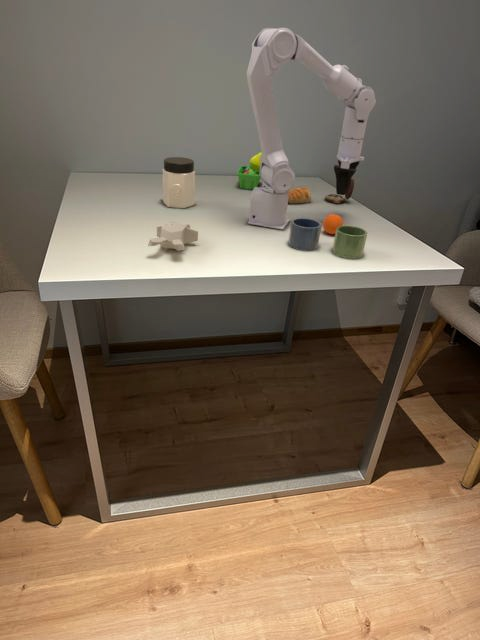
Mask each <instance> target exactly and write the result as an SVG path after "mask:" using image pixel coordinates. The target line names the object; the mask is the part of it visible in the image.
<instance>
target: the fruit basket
mask: <svg viewBox="0 0 480 640" xmlns="http://www.w3.org/2000/svg"><path fill="white" fill-rule="evenodd" d="M261 155H262V150H260V151H259V152H258V153H257V154H256V155H254V156H252V157H250V159H249V163H250V164H248V165H241V166H240V167H239V169H238V171H237V172H236V173H237V177H238V182H239V188H240V189H245V190H253V189H254V188H255V187H258V186H259V183H260V180H261V177H260V173H259V172H260V167H261V161H260V157H261Z"/></svg>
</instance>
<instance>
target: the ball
mask: <svg viewBox="0 0 480 640" xmlns="http://www.w3.org/2000/svg"><path fill="white" fill-rule="evenodd" d="M322 226H323V227H322V228H323V229H324V231H325V232H326V233H327V234H329V235H335V234H336V229H337V227H339V226H344V221H343V218H342V217H341V216H340V215H338V214H333V213H332V214H328V215H327V216H326V217H325V218H324V220H323V222H322Z"/></svg>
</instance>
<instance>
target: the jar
mask: <svg viewBox="0 0 480 640" xmlns="http://www.w3.org/2000/svg"><path fill="white" fill-rule="evenodd" d="M194 169H195V161H194V159H191V158H188V157H181V156H171V157H166V158H164V159H163V168H162V203H163V204H165V205H166V207H168V208H175V209H186V208H191V207H193V206H195V200H196V199H195V196H196V192H195V191H196V171H195V170H194Z"/></svg>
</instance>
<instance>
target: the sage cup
mask: <svg viewBox="0 0 480 640" xmlns="http://www.w3.org/2000/svg"><path fill="white" fill-rule="evenodd" d="M367 236H368V231H367V230H366V229H364V228H363V227H359V226H355V225H348V224H347V225H345V224H343V226H339V227H337V229H336V234H334V240H333V245H332V253H333V254H334V255H335V256H337V257H340V258H343V259H349V260H357V259H360V258H362V257H363V255H364V250H365V246H366V242H367Z"/></svg>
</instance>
